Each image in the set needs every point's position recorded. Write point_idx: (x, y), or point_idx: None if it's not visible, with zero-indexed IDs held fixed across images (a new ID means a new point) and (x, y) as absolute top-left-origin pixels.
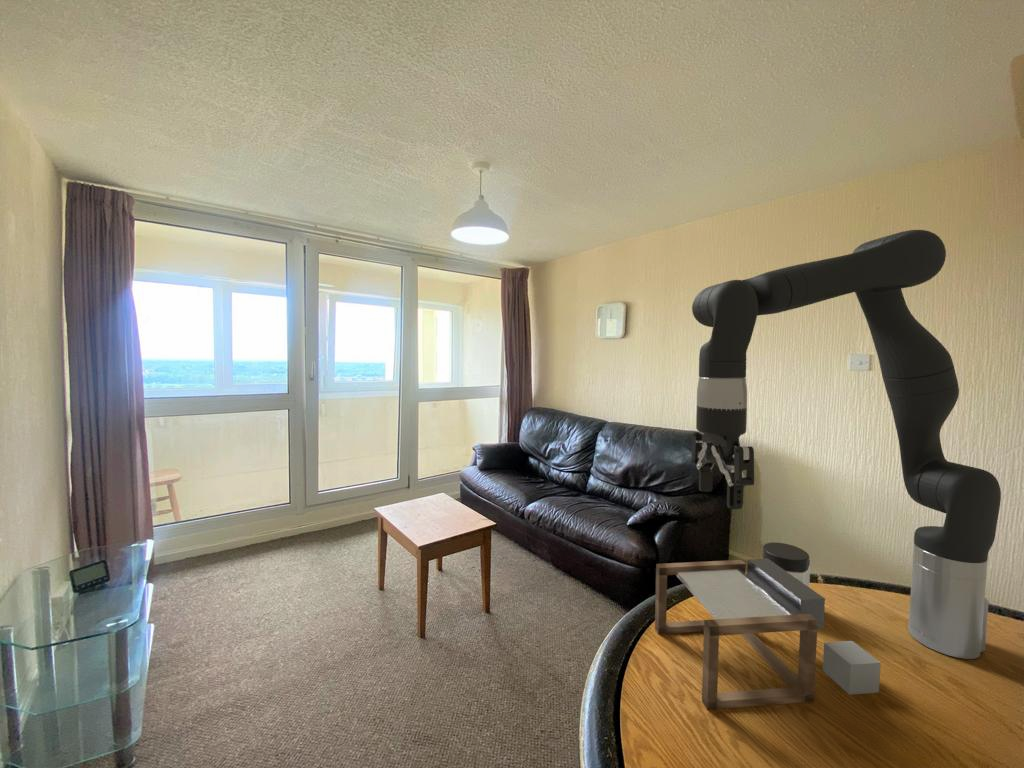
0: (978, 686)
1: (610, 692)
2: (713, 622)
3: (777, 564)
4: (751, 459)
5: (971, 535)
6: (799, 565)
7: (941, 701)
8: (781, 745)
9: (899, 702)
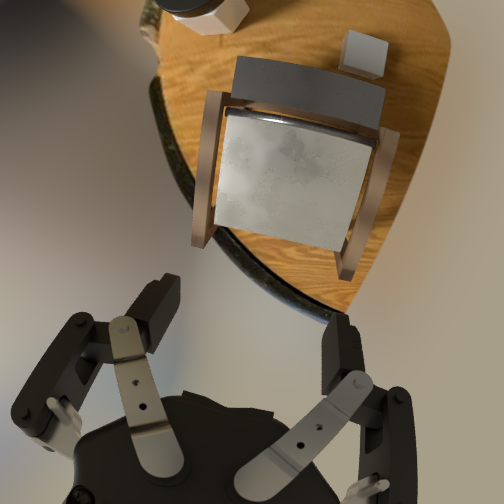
0: None
1: (291, 294)
2: (347, 272)
3: (206, 10)
4: (411, 478)
5: None
6: None
7: (399, 12)
8: (390, 201)
9: (393, 46)
